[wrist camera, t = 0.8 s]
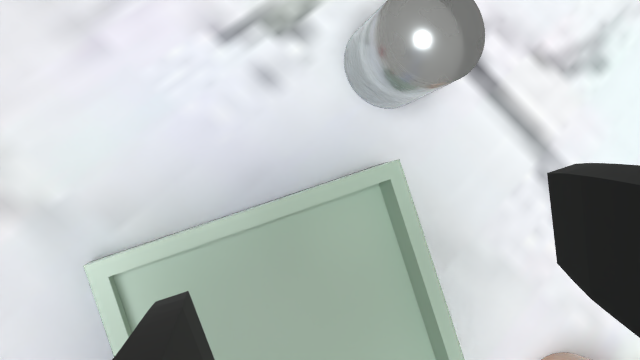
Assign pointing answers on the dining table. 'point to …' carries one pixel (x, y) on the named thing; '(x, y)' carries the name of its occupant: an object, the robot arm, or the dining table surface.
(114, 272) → the sage green tray
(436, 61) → the grey metal tin
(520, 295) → the dining table surface
